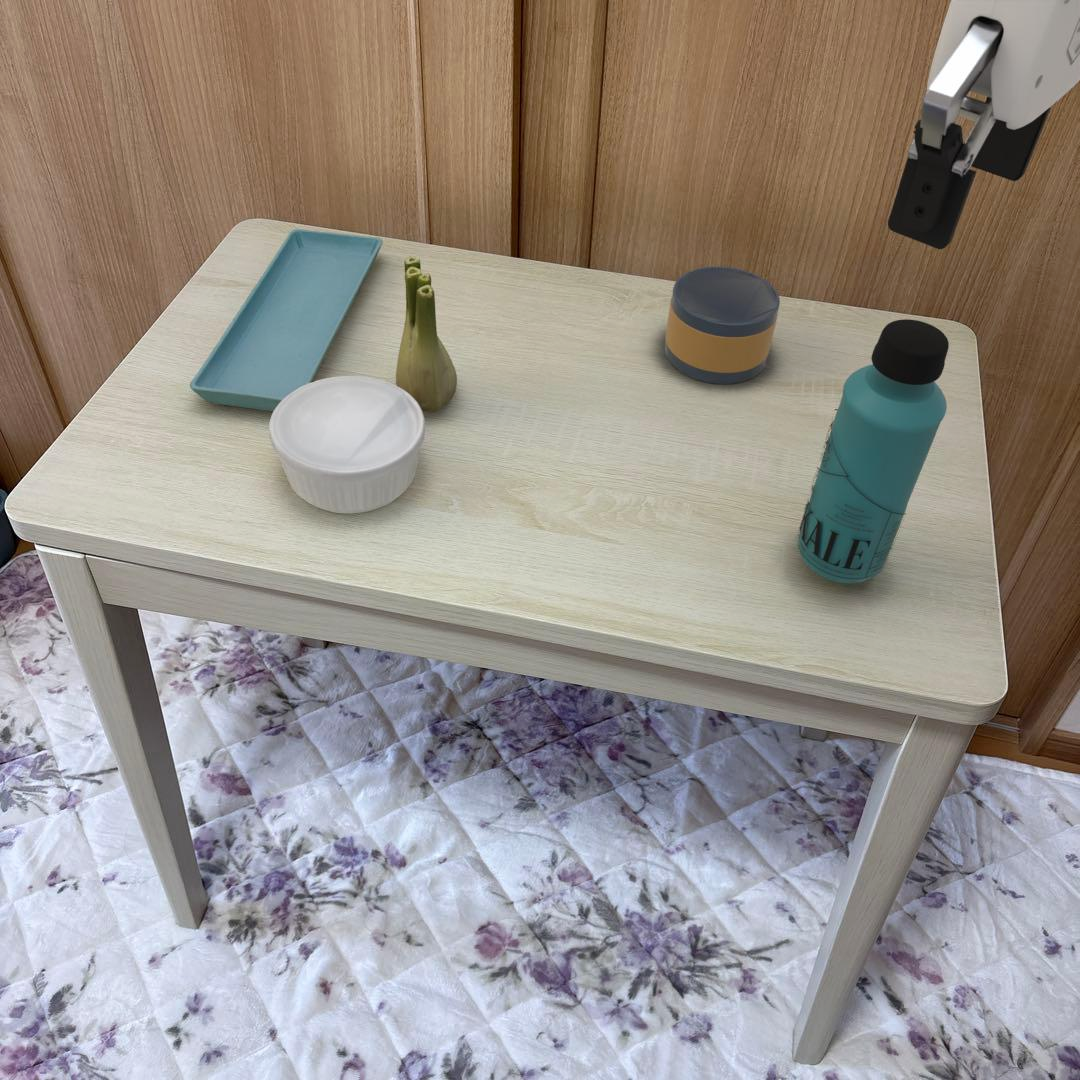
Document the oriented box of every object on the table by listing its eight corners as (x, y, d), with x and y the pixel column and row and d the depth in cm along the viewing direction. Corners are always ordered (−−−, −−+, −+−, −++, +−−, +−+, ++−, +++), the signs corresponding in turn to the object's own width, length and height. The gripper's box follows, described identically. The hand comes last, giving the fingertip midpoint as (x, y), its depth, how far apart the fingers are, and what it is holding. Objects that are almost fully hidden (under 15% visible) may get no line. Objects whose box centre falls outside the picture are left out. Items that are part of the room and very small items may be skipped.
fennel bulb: (407, 375, 89) (398, 248, 81) (463, 382, 89) (461, 255, 80) (389, 418, 85) (379, 289, 77) (449, 425, 85) (445, 297, 76)
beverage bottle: (875, 539, 78) (963, 306, 63) (886, 606, 73) (985, 372, 59) (786, 530, 78) (854, 296, 64) (792, 597, 73) (867, 361, 59)
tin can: (735, 316, 98) (747, 258, 93) (786, 373, 92) (801, 314, 87) (646, 334, 95) (654, 275, 91) (692, 393, 89) (703, 333, 85)
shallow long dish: (294, 246, 103) (291, 223, 101) (385, 257, 102) (384, 234, 101) (192, 412, 85) (186, 387, 83) (302, 426, 84) (299, 401, 82)
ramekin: (433, 520, 77) (430, 466, 74) (277, 532, 76) (266, 478, 72) (421, 423, 85) (418, 370, 81) (279, 432, 83) (270, 378, 80)
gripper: (1118, -123, 37) (956, 297, 49) (1243, -195, 47) (1082, 171, 59) (920, -166, 40) (814, 239, 52) (1076, -225, 50) (956, 128, 62)
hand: (956, 203), depth 56 cm, fingers open, 9 cm apart
